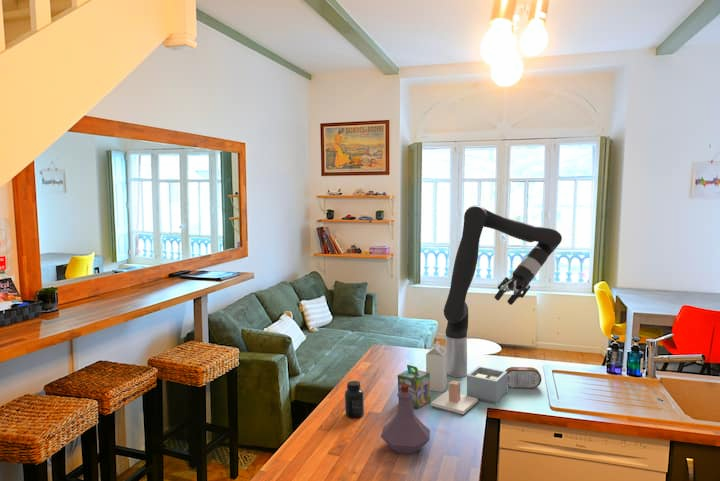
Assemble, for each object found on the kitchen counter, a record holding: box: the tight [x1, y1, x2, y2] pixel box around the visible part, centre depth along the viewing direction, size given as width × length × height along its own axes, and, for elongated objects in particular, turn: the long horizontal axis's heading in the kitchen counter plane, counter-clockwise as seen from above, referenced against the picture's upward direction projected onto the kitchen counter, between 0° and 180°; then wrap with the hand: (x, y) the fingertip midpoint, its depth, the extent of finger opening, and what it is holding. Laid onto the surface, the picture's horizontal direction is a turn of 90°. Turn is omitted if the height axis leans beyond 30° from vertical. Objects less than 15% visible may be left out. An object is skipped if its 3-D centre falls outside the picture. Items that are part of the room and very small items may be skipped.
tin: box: [504, 366, 542, 390], centre depth 197 cm, size 15×3×8 cm, turn 84°
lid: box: [430, 380, 479, 415], centre depth 183 cm, size 13×13×8 cm
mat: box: [432, 406, 467, 416], centre depth 183 cm, size 12×12×1 cm
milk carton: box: [425, 340, 448, 393], centre depth 198 cm, size 7×7×19 cm
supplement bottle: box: [344, 380, 365, 419], centre depth 176 cm, size 7×7×12 cm
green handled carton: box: [397, 364, 432, 410], centre depth 186 cm, size 9×9×15 cm
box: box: [466, 365, 508, 405], centre depth 190 cm, size 12×12×9 cm
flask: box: [380, 384, 431, 455], centre depth 153 cm, size 16×16×20 cm
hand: (502, 301), depth 192 cm, fingers open, 8 cm apart
